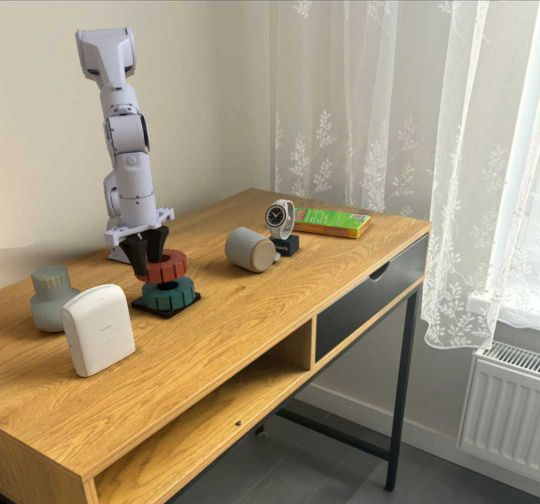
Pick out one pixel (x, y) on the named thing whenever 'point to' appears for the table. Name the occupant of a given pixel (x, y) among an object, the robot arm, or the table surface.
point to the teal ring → (169, 294)
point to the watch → (282, 227)
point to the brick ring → (166, 267)
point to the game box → (330, 222)
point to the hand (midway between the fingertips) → (148, 271)
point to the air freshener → (50, 296)
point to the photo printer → (97, 328)
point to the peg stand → (167, 314)
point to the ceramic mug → (250, 250)
